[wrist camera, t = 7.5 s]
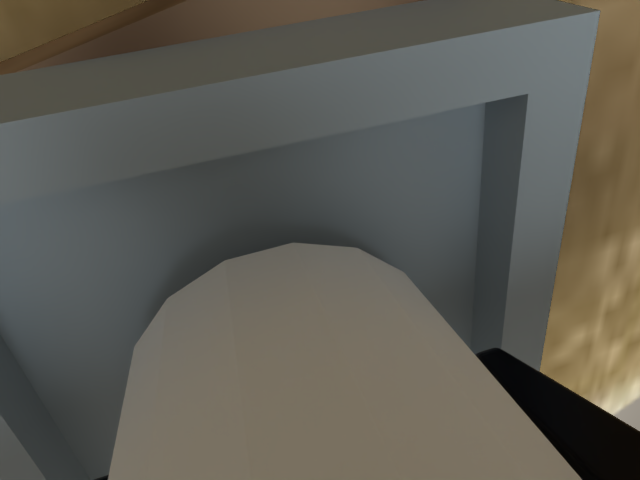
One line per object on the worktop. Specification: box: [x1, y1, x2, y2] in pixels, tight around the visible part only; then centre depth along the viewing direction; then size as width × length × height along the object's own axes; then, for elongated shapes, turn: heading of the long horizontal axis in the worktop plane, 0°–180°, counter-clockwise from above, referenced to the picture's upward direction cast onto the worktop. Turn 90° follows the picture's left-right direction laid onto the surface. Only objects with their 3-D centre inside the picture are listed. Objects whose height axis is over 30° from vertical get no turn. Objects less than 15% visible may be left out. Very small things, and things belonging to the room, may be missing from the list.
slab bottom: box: [0, 0, 424, 75], centre depth 13 cm, size 12×12×2 cm
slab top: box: [0, 0, 600, 480], centre depth 11 cm, size 11×11×3 cm
